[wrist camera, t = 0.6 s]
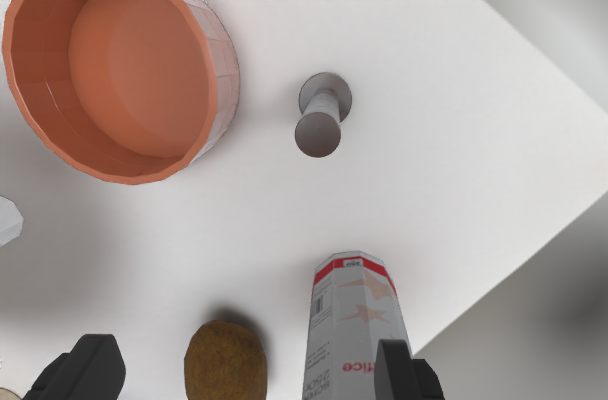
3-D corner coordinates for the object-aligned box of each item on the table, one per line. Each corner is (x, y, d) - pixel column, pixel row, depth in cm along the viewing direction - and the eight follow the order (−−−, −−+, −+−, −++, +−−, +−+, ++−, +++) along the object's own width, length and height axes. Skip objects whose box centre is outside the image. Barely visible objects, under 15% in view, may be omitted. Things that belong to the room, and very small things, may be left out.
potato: (225, 394, 42) (202, 464, 35) (177, 310, 38) (140, 370, 31) (290, 381, 40) (280, 452, 33) (247, 292, 36) (226, 351, 29)
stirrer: (303, 69, 28) (276, 81, 15) (354, 75, 28) (372, 93, 15) (297, 121, 29) (268, 172, 16) (346, 127, 29) (355, 184, 16)
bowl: (54, -38, 26) (-20, -62, 21) (244, -14, 26) (220, -33, 20) (77, 150, 32) (23, 170, 26) (235, 171, 31) (214, 197, 26)
